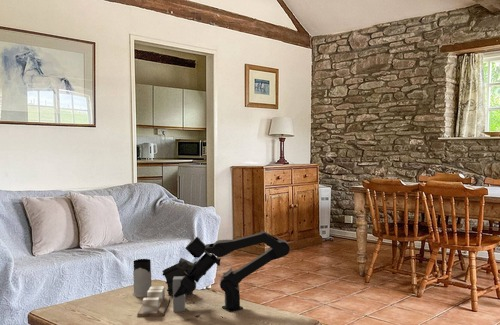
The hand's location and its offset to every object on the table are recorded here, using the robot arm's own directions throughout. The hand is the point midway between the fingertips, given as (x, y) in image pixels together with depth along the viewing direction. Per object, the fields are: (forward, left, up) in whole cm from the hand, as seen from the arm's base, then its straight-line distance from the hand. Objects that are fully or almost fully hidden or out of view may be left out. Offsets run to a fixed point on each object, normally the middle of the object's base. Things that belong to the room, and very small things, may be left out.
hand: (175, 293), depth 195 cm
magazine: (+19, -10, -7) cm, 22 cm away
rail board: (+8, +6, -7) cm, 12 cm away
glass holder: (+31, +1, -7) cm, 31 cm away
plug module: (-1, -1, -7) cm, 7 cm away
